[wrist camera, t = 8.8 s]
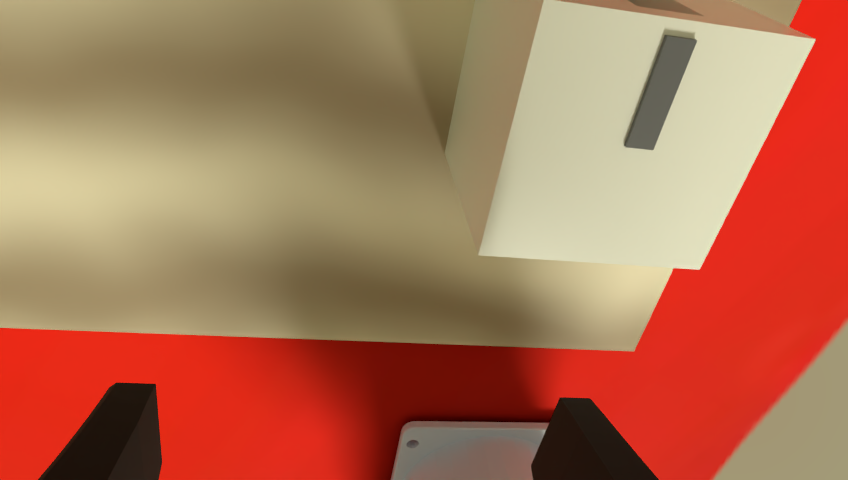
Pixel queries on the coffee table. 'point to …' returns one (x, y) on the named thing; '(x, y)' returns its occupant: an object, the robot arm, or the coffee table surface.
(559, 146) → the slotted white block
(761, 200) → the coffee table surface
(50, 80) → the board
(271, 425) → the coffee table surface
